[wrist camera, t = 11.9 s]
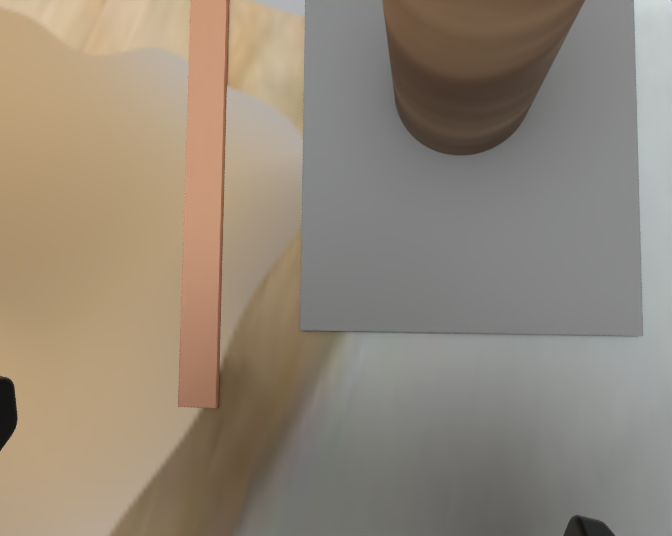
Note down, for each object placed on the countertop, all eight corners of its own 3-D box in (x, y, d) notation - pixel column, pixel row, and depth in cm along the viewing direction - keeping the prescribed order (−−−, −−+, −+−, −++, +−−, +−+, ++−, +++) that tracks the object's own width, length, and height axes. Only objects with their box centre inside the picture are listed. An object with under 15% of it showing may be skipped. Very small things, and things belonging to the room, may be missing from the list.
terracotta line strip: (218, 406, 23) (215, 408, 22) (181, 405, 23) (178, 406, 22) (231, -88, 24) (228, -93, 24) (196, -84, 24) (193, -89, 24)
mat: (638, 335, 20) (643, 336, 20) (302, 330, 22) (299, 330, 22) (628, -48, 21) (632, -55, 21) (307, -24, 23) (305, -29, 23)
